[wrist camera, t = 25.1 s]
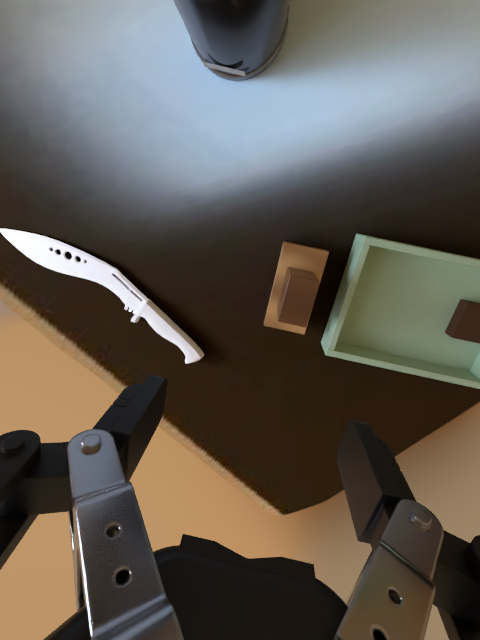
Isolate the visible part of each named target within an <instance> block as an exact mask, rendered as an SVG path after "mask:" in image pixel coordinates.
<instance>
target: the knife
mask: <svg viewBox="0 0 480 640" xmlns="http://www.w3.org/2000/svg"><path fill="white" fill-rule="evenodd" d="M0 232H1V234H2V235H3V236H4V237H5V238H6V239H7V240H8V241H9V242H10V243H11V244H13V245H14V246H15V247H16V248H17V249H18V250H20V251H21V252H22V253H23V254H24V255H26V256H27V257H29V258H30V259H31V260H33V261H34V262H36V263H38V264H40V265H42V266H44V267H46V268H48V269H51V270H54V271H57V272H60V273H63V274H67V275H71V276H75V277H80V278H85V279H88V280H91V281H94V282H97V283H99V284H101V285H103V286H105V287H107V288H108V289H110V290H111V291H112V292H114V293H115V294H116V295H117V296H118V297H119V298H120V299H121V300H122V301H123V303H124V304H125V308H124V309H125V310H127V309H128V307H129V312H132V310H133V313H134V314H135V315H134V316H133V317H132V319H131V322H134V323H136V322H138V321H139V319H140V317H143V318H145V319H146V320H147V322H148V323H149V324H150V326H151V327H152V328H153V329H154V330H155V331H156V332H157V333H158V334H159V335H161V336H162V337H164V338H165V339H167V340H169V341H170V342H172V343H174V344H176V345H177V346H178V347H179V348H180V349H181V350H182V351H183V353H184V354H185V356H186V359H185V363H186V364H188V363H192V362H196V361H198V360H200V359H201V358H202V357H204V353H203V351H202V350H201V349H200V348H199V346H198V345H197V344H196V343H195V342H194V341H193V340H192V339H191V338H190V337H189V336H188V335H187V334H186V333H185V332H184V331H183V330H182V329H181V328H179V327H178V326H177V325H176V324H175V323H174V322H173V321H172V320H171V319H170V318H169V317H168V316H167V315H166V314H165V313H164V312H163V311H162V310H161V309H159V308H158V307H157V306H156V305H155V304H154V303H153V302H152V301H151V300H149V299H148V298H147V297H146V296H145V295H143V294H142V293H141V292H140V291H139V290H138V289H137V288H136V287H135V286H134V285H133V284H132V283H131V282H130V281H129V280H128V279H127V278H126V277H124V276H123V275H122V274H121V272H120V271H119V270H118V269H117V268H115V267H112V266H111V265H109V264H107V263H106V262H104V261H102V260H100V259H98V258H96V257H94V256H92V255H90V254H88V253H85V252H83V251H81V250H79V249H77V248H74V247H72V246H70V245H68V244H65V243H63V242H60V241H58V240H55V239H52V238H49V237H46V236H42V235H38V234H34V233H29V232H24V231H18V230H12V229H2V228H0ZM50 248H52V249H53V251H51V249H50ZM58 249H59V250H60V251H61V254H60V255H58V254H57V252H56V250H58ZM66 252H70V253H71V255H72V258H71V259H70V260H69V259H67V258H66V256H65V253H66ZM77 256H79V257H80V258H81V261H80V262H78V261H77V260H76V257H77ZM85 260H86V261H87V263H85ZM113 274H115V275H116V276H117V277H118V278H119V279H120V280H121V281H122V282H123V283H125V284H126V285H127V286H128V287H129V289H128V288H127V287H126V286H125V285H124V284H123V283H122V282H121V281H120V280H119V279H118V278H117V277H115V276H114V275H113ZM131 290H132V291H133V292H134V293H135V294H136V295H137V296H138V297H140V298H141V299H142V301H141V300H140V299H139V298H138V297H137V296H136V295H135V294H134V293H133V292H132V291H131Z"/></svg>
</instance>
